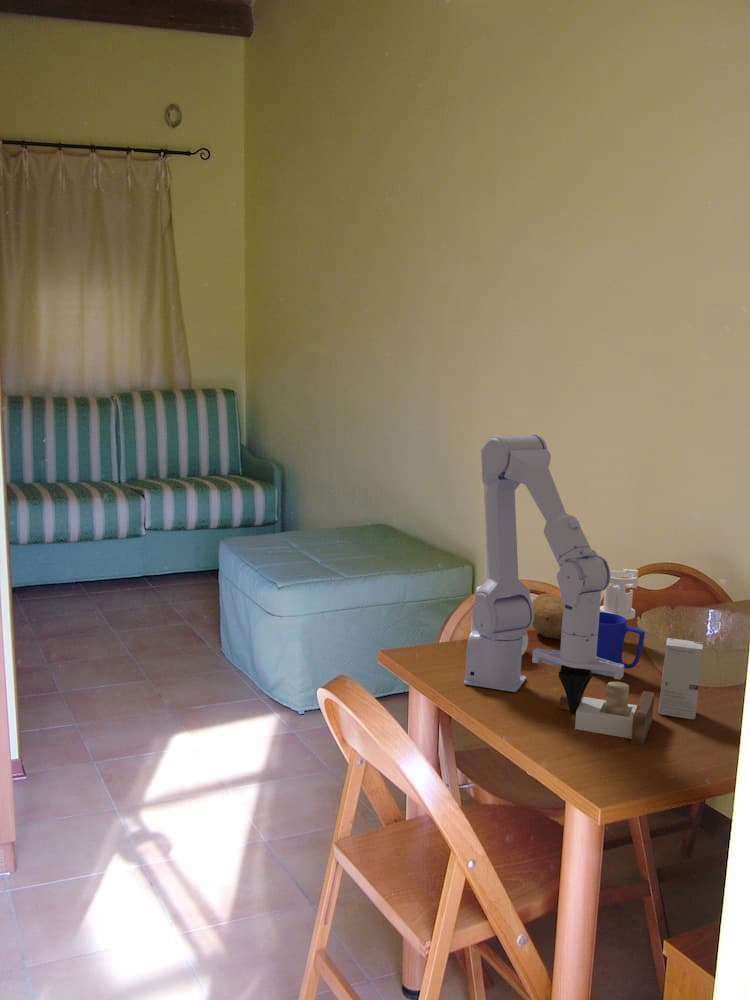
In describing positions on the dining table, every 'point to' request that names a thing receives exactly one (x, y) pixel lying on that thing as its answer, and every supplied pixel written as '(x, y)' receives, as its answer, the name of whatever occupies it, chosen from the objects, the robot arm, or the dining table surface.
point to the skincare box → (681, 678)
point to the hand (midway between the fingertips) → (573, 712)
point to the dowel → (617, 698)
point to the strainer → (620, 593)
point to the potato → (548, 615)
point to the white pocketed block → (603, 719)
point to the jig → (640, 717)
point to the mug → (615, 638)
